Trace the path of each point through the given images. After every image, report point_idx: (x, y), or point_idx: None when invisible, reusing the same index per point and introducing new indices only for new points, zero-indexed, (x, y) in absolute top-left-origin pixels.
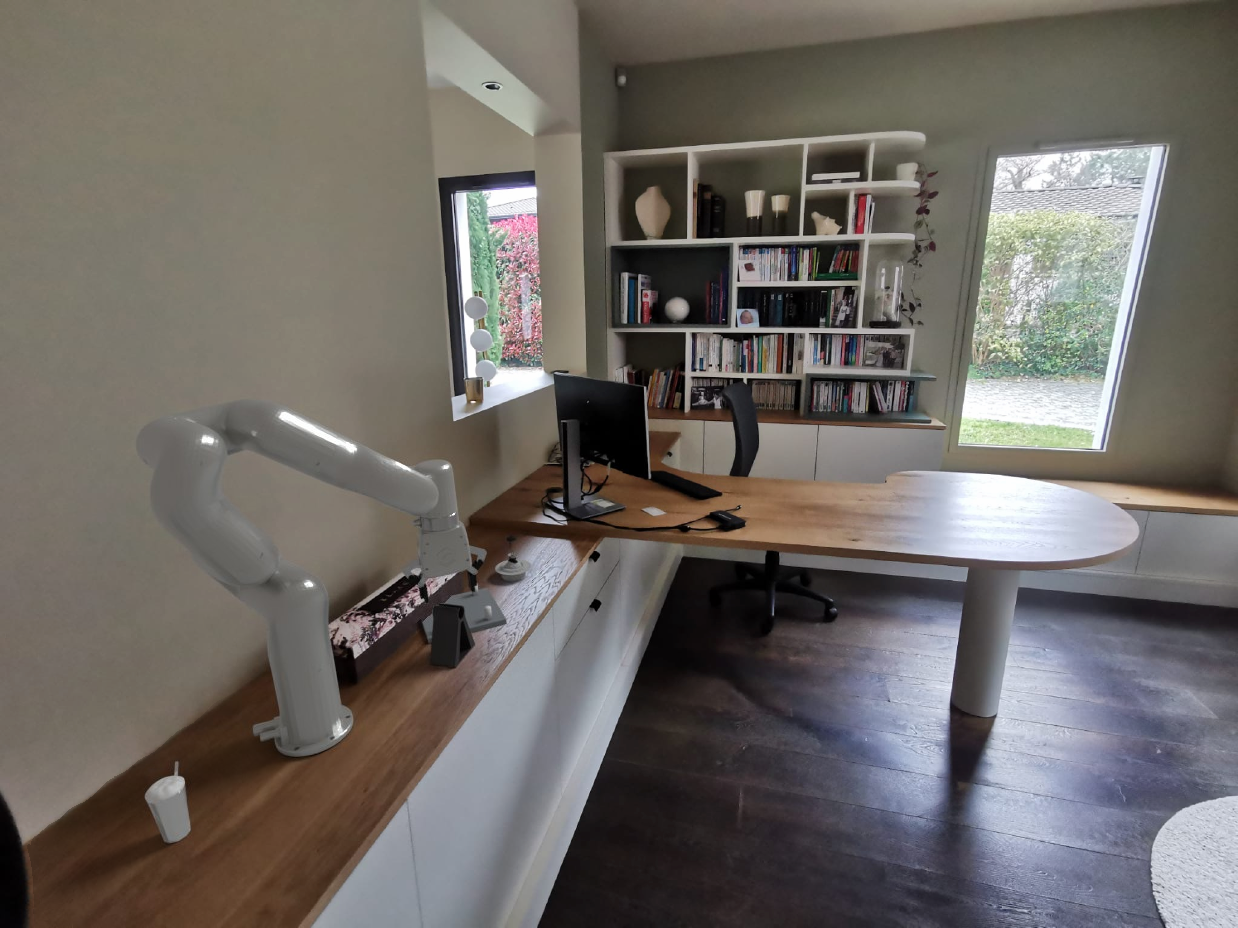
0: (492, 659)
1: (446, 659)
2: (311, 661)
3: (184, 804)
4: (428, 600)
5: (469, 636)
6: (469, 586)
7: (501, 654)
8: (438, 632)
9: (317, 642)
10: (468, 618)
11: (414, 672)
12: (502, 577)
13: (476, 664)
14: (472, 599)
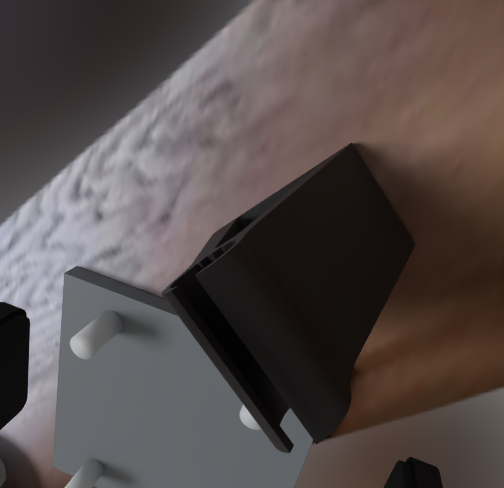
0: (207, 91)
1: (366, 188)
2: None
3: None
4: (406, 478)
5: (222, 232)
6: (17, 390)
7: (165, 98)
8: (354, 293)
9: None
10: (166, 373)
11: (494, 238)
12: (4, 477)
13: (272, 104)
14: (112, 451)
